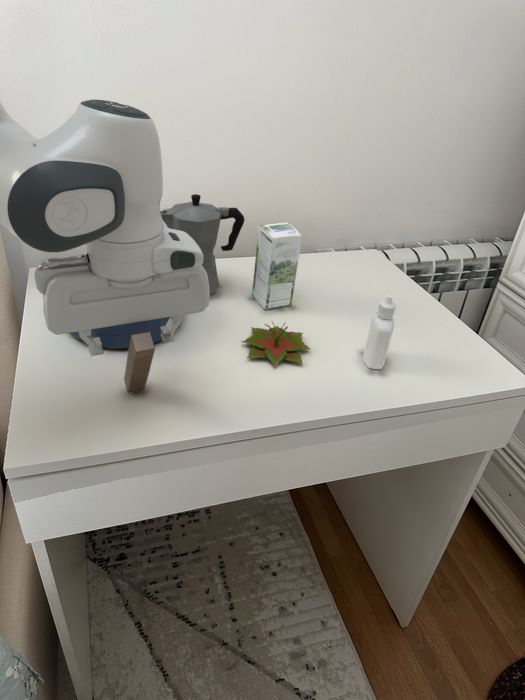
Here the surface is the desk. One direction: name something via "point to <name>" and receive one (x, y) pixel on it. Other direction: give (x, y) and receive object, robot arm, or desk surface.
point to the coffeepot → (204, 229)
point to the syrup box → (276, 265)
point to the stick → (138, 361)
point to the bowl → (126, 332)
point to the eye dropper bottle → (379, 335)
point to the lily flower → (276, 344)
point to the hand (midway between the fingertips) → (132, 346)
